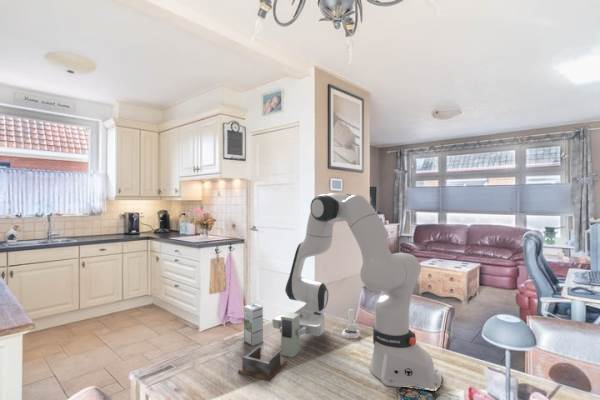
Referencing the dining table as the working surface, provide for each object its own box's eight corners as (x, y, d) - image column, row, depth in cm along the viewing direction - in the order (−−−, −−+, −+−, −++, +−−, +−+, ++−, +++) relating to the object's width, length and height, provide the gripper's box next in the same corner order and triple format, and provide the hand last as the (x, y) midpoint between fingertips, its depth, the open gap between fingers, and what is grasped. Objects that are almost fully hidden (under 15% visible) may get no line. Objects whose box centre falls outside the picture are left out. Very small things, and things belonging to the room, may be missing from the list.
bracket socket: (286, 363, 111) (286, 349, 111) (269, 381, 100) (269, 365, 100) (257, 356, 116) (257, 342, 116) (238, 372, 105) (238, 357, 105)
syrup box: (263, 341, 128) (263, 305, 128) (251, 346, 124) (251, 309, 124) (254, 337, 132) (255, 302, 132) (243, 341, 128) (243, 305, 128)
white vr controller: (355, 314, 143) (361, 310, 138) (356, 343, 136) (363, 339, 131) (339, 312, 142) (345, 307, 137) (340, 340, 135) (346, 337, 129)
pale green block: (299, 351, 119) (299, 314, 119) (292, 358, 114) (292, 319, 114) (287, 348, 121) (287, 312, 121) (280, 355, 116) (280, 316, 116)
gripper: (281, 307, 134) (264, 319, 121) (327, 315, 125) (314, 328, 112) (281, 322, 134) (264, 335, 121) (327, 331, 125) (314, 345, 112)
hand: (289, 332), depth 117 cm, fingers closed on pale green block, 5 cm apart
